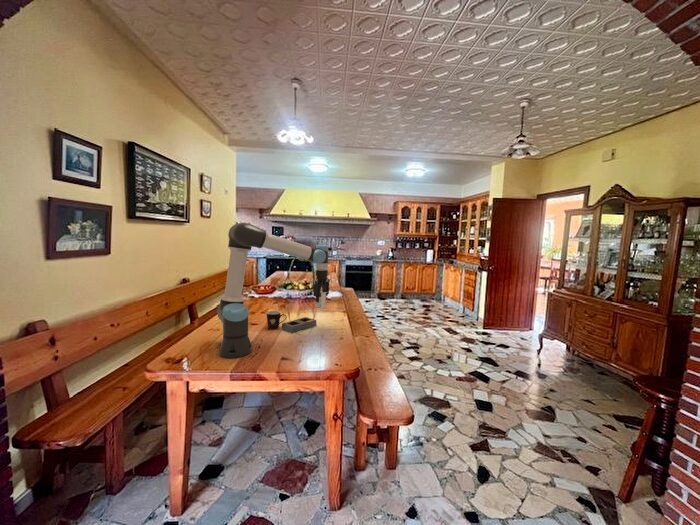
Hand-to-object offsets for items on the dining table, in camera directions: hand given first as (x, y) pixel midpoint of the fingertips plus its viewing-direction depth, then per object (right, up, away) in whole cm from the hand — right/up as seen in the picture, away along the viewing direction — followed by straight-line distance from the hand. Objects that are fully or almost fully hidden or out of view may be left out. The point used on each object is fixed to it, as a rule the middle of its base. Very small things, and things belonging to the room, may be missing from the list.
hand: (320, 306), depth 184 cm
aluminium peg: (0, -1, 0) cm, 1 cm away
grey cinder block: (-14, -14, +2) cm, 20 cm away
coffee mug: (-29, -14, 0) cm, 32 cm away
